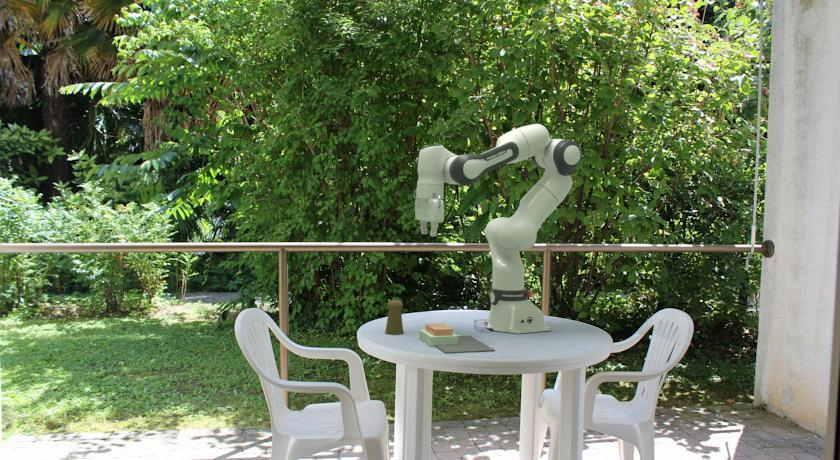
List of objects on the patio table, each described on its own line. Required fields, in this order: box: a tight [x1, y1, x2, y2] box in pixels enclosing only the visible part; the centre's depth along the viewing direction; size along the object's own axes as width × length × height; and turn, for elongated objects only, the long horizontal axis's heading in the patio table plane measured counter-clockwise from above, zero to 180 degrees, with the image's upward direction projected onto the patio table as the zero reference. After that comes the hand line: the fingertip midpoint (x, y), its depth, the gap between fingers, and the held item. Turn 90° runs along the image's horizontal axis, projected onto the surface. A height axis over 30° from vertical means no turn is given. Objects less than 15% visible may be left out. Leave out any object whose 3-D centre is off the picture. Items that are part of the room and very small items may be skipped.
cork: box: [385, 299, 404, 336], centre depth 240 cm, size 6×6×11 cm
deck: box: [418, 328, 459, 348], centre depth 228 cm, size 9×12×3 cm
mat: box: [435, 335, 496, 355], centre depth 225 cm, size 16×21×1 cm
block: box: [425, 323, 454, 336], centre depth 227 cm, size 6×9×2 cm, turn 18°
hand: (428, 235), depth 238 cm, fingers open, 8 cm apart
